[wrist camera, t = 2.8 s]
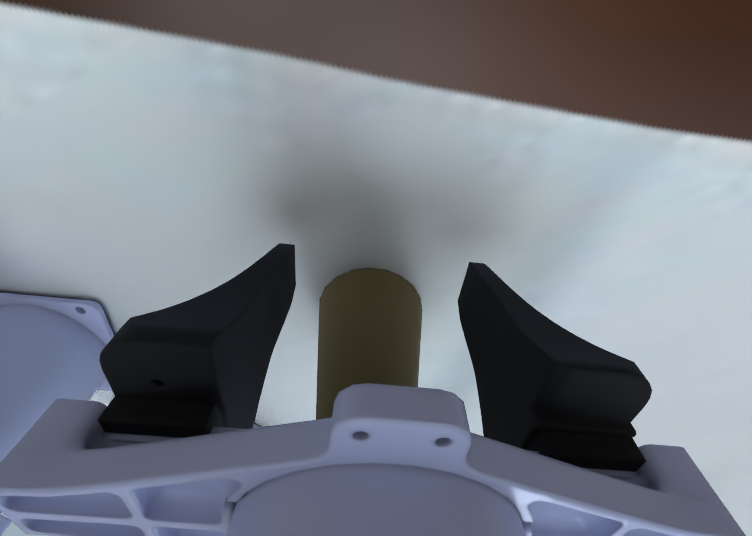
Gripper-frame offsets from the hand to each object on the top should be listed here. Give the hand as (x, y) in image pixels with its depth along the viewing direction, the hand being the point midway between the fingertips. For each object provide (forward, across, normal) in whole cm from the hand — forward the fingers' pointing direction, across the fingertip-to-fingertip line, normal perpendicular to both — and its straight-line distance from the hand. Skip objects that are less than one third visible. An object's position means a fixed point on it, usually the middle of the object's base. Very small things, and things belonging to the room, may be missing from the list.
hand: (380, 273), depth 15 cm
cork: (+4, 0, +5) cm, 7 cm away
